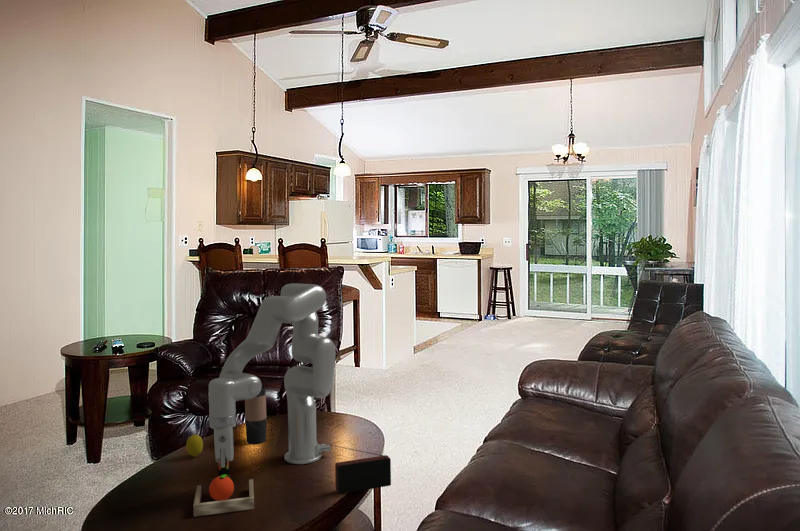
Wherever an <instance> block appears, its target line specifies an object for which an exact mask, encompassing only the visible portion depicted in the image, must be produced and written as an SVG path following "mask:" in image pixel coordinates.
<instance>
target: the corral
mask: <svg viewBox="0 0 800 531" xmlns="http://www.w3.org/2000/svg"><path fill="white" fill-rule="evenodd" d="M195 490H196V491H195V495H194V500H193V505H192V506H193V517H201V516H202V517H203V516H209V515H216V514H217V515H219V514H224V513H233V512H239V511H240V512H241V511H247V510H255V492H254V491H255V490H254V479H253V478H252V479H248V490H249V491H248V492H249V494H248V495H249V496H246V497H239V498H231V499H230V498H228V499H227V500H221V501H216V500H214V501H207V502H202V495H203V493H202V485H201V484H200V485H196V489H195Z"/></svg>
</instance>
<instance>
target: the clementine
mask: <svg viewBox="0 0 800 531" xmlns="http://www.w3.org/2000/svg"><path fill="white" fill-rule="evenodd" d="M227 476H228V477H227ZM234 491H235V485H234V482H233V480H232V479H231V477H230V478H229V475H225V474H224V475H221V476H216V477H215V478H214V479H212V481H211V482H210V483H209V487H208V494H209V496H210V498H212V499H213V500H214V501H221V500H229V499H230V498H231V496H232V495H233V493H234Z"/></svg>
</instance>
